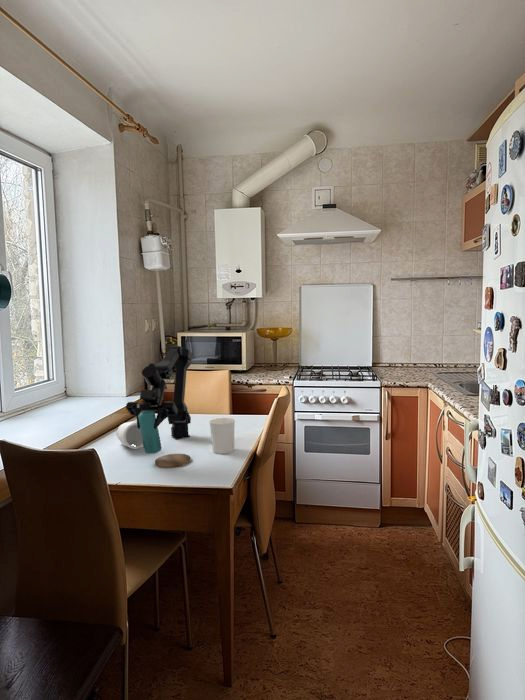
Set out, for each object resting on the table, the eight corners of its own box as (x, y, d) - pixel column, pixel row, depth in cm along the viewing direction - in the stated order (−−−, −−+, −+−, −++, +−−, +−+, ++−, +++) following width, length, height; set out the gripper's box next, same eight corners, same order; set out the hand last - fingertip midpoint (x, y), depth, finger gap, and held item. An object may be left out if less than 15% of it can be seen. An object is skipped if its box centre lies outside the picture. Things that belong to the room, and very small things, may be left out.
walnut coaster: (182, 453, 182) (182, 451, 182) (196, 462, 171) (196, 460, 171) (150, 460, 175) (150, 458, 175) (162, 470, 164) (161, 467, 164)
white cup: (226, 456, 177) (224, 425, 176) (206, 452, 183) (204, 422, 181) (240, 448, 186) (239, 419, 184) (221, 445, 191) (219, 416, 190)
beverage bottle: (166, 452, 174) (157, 400, 172) (152, 458, 169) (142, 405, 167) (154, 451, 178) (146, 400, 176) (141, 457, 173) (131, 404, 171)
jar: (126, 449, 201) (136, 454, 189) (108, 434, 198) (117, 438, 185) (143, 430, 206) (154, 433, 193) (125, 415, 202) (136, 417, 189)
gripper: (125, 380, 176) (114, 416, 167) (173, 380, 173) (163, 417, 163) (136, 397, 185) (125, 432, 175) (181, 396, 182) (173, 432, 172)
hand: (146, 428), depth 171 cm, fingers closed on beverage bottle, 6 cm apart
